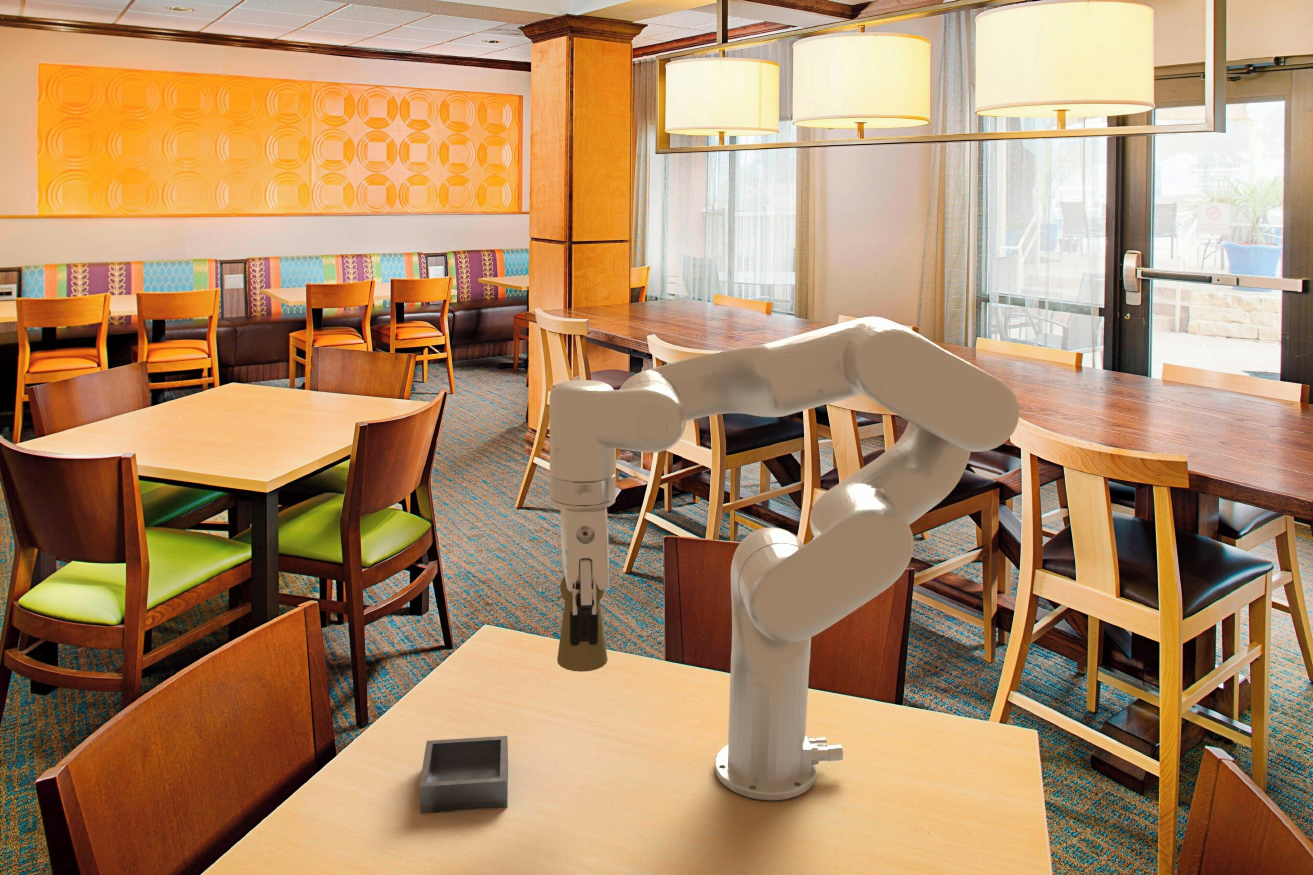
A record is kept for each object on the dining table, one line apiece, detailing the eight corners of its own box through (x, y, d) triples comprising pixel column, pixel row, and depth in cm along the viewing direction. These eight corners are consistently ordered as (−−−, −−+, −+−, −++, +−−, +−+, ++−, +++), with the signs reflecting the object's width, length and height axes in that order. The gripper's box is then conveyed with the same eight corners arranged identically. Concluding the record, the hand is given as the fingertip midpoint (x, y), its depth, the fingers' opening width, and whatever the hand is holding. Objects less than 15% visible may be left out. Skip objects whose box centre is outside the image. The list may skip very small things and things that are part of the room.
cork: (608, 648, 121) (608, 564, 119) (607, 671, 115) (607, 583, 113) (558, 648, 121) (558, 564, 119) (555, 671, 115) (554, 583, 113)
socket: (507, 760, 126) (507, 735, 125) (507, 807, 116) (506, 780, 115) (427, 765, 124) (426, 740, 123) (420, 813, 115) (419, 786, 114)
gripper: (622, 510, 106) (621, 666, 110) (608, 468, 122) (607, 606, 126) (552, 511, 105) (553, 669, 109) (547, 469, 121) (548, 609, 125)
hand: (582, 634), depth 118 cm, fingers closed on cork, 3 cm apart
